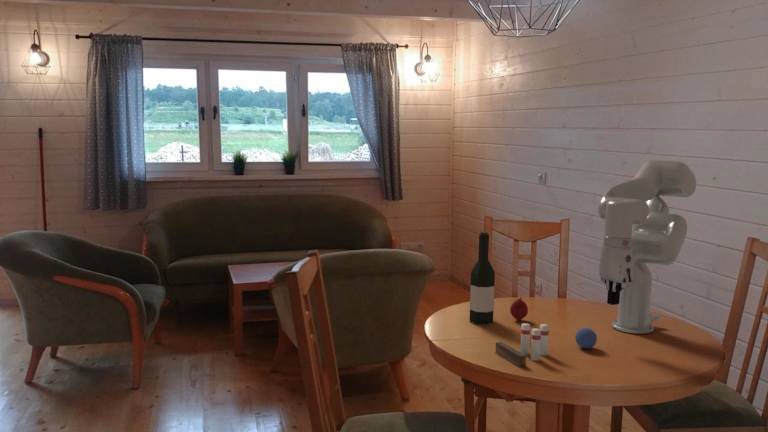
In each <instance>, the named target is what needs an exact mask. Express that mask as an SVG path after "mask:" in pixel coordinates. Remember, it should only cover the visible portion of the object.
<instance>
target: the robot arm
mask: <svg viewBox="0 0 768 432" xmlns="http://www.w3.org/2000/svg"><path fill="white" fill-rule="evenodd" d="M696 189H697V179H696V176H695V174H694V172H693V171H692V170H691V169H690V167H689V166H688V165H687V164H686V163H685V162H682V161H679V160H662V159H661V160H660V159H659V160H658V159H655V160H654V159H653V160H648V161H646V162H644V163H643V164H642V165H641V166H640V168H639V169H638V171H637V172H636V173H635V175H634V176H633V178H632V179H630V180H627V181H623V182H622V183H621V182H620V183H619V184H616V185H613V186H612V187H610V188H609V189H608V190H607V191H606V192H605V193H604V195H603V196H602V198H601V199H600V201H599V203H598V206H597V213H598V216H599V218H600V219H601V220H603V221H604V232H603V233H604V234H603V245H602V247H601V252H600V258H599V263H598V264H599V266H598V275H599V276H600V281H601V282H603V283H604V284H605V286H606V287H605V288H606V291H607V299H606V302H607V305H611V306H615V305H617V319H615V320H613V321H612V322H611V326H612V328H614V329H615V330H617V331H619V332H623V333H627V334H634V335H636V334H637V335H644V334H650V333H653V332H654V329H655V327H654V326H653V324H652V323H653V322H659V321H660V320H661V316H660V315H659V314H655V315H654V314H653V315H652V314H650V310H651V298H652V297H651V294H652V281H653V275H652V273H651V272H652V271H651V270H650V269H649V266H648V265H647V264H652V265H653V264H654V265H663V266H671V265H673V264H674V263H675V262H676V261H677V259H678V256H679V255H680V251H681V249H682V247H683V245H684V242H685V240H686V236H687V233H688V224H687V220H686V219H685V217H684V216H682V215H681V214H676V213H670V208H669V206H668V204H667V203H666V202H665V200H664V199H663V198H661V196H662V197H673V198H674V197H675V198H689V197H691V196H693V194H694V193H695V192H696Z"/></svg>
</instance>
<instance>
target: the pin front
mask: <svg viewBox="0 0 768 432" xmlns="http://www.w3.org/2000/svg"><path fill="white" fill-rule="evenodd" d="M549 328H550V325H549V324H545V323H543V324H542V323H541V324H540V325H539V329H540V330H541V339H540V357H541V356H542V357H547V356H548V352H549V351H548V349H549V333H550V330H549Z"/></svg>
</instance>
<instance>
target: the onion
mask: <svg viewBox="0 0 768 432" xmlns="http://www.w3.org/2000/svg"><path fill="white" fill-rule="evenodd" d="M509 311H510V314H511V316H512V317H513V318H514V319H515V320H516V321H521V320H523V319H524V318H526V316H528V312H529V308H528V305H527V303H526V302H525V301H524V300H522V297H520V296H518V298H517V299H515V300H514V301H513V302H512V303H511V306H510V309H509Z"/></svg>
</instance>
